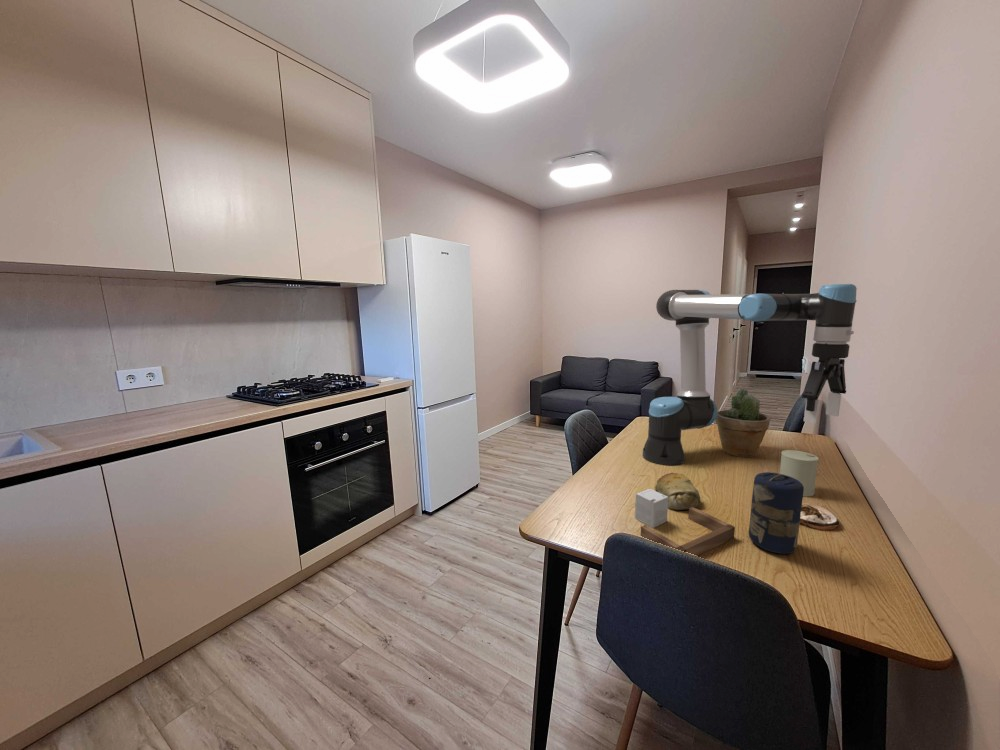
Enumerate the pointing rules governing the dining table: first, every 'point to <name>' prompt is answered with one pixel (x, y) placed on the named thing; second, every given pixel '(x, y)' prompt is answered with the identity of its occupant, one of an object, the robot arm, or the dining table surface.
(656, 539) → the bay
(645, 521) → the skincare box
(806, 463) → the can
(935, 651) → the dining table surface
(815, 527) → the sushi roll
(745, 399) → the potted plant
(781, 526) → the canister
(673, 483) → the pastry
